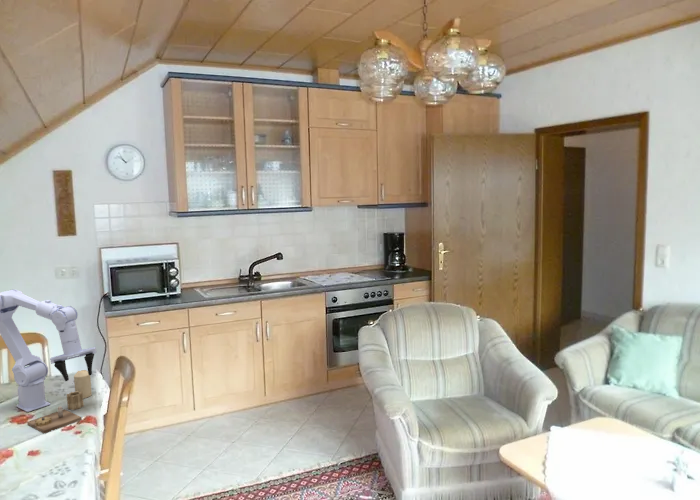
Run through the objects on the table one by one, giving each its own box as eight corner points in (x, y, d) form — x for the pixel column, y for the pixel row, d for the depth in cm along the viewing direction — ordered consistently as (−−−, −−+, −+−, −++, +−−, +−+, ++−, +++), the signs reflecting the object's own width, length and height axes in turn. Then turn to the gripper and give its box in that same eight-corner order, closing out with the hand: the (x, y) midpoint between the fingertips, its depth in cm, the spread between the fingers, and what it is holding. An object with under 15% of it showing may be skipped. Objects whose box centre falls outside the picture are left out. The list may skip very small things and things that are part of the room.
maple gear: (64, 407, 183) (63, 394, 182) (79, 403, 187) (78, 390, 187) (72, 411, 180) (70, 397, 180) (86, 406, 184) (85, 392, 184)
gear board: (27, 424, 170) (26, 411, 169) (64, 412, 179) (63, 398, 179) (44, 433, 163) (43, 419, 162) (81, 419, 173) (80, 406, 172)
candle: (84, 399, 191) (82, 373, 190) (72, 398, 192) (70, 373, 191) (94, 393, 196) (93, 368, 195) (82, 393, 197) (80, 368, 196)
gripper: (44, 348, 173) (53, 386, 174) (90, 337, 177) (98, 374, 178) (50, 344, 180) (58, 380, 181) (93, 334, 184) (102, 370, 185)
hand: (78, 377), depth 180 cm, fingers open, 7 cm apart
